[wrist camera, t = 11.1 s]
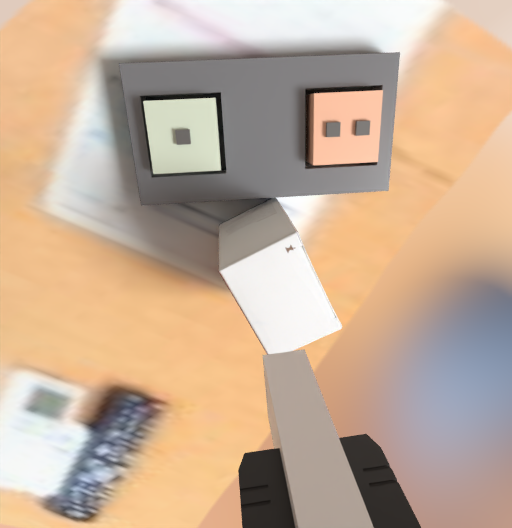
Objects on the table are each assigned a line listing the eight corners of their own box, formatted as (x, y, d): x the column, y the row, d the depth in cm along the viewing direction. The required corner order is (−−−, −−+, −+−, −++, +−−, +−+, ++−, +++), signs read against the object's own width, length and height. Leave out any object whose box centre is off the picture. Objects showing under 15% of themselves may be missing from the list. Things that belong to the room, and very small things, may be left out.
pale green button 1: (159, 168, 31) (152, 174, 28) (151, 102, 29) (142, 100, 26) (221, 165, 31) (220, 170, 28) (216, 99, 30) (215, 97, 26)
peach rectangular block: (305, 161, 32) (314, 165, 29) (305, 95, 30) (314, 92, 27) (364, 157, 32) (379, 162, 29) (368, 92, 30) (384, 90, 27)
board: (146, 200, 32) (141, 205, 30) (126, 67, 28) (119, 63, 26) (379, 186, 33) (388, 190, 31) (388, 56, 29) (399, 52, 28)
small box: (218, 223, 33) (214, 268, 23) (276, 194, 33) (297, 228, 23) (257, 296, 36) (269, 363, 26) (311, 271, 36) (344, 330, 26)
